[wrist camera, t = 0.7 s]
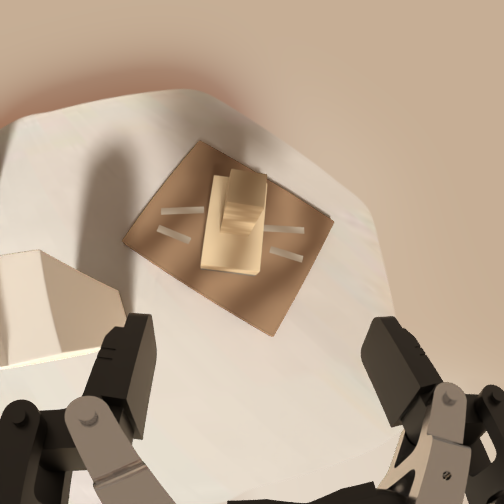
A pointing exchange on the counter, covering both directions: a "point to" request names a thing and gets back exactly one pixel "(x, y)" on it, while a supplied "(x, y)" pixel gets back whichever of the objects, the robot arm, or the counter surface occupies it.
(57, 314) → the milk
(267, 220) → the board
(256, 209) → the block
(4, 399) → the counter surface
